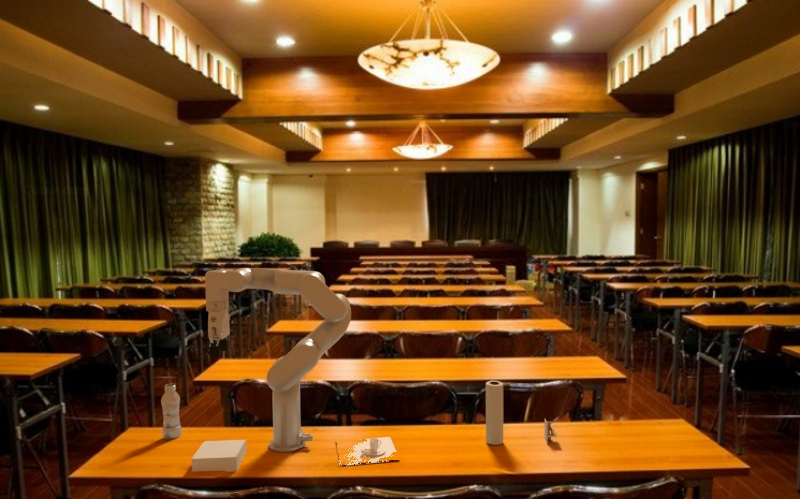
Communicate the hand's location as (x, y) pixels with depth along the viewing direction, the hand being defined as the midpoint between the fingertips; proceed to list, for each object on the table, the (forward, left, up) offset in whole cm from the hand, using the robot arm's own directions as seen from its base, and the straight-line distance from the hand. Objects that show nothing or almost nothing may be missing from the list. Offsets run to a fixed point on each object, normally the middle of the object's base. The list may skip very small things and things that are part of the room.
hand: (219, 354), depth 193 cm
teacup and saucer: (-51, +3, -34) cm, 62 cm away
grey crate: (-4, +13, -34) cm, 36 cm away
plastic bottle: (+21, -7, -33) cm, 40 cm away
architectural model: (-116, -4, -34) cm, 121 cm away
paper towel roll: (-97, -3, -33) cm, 102 cm away
